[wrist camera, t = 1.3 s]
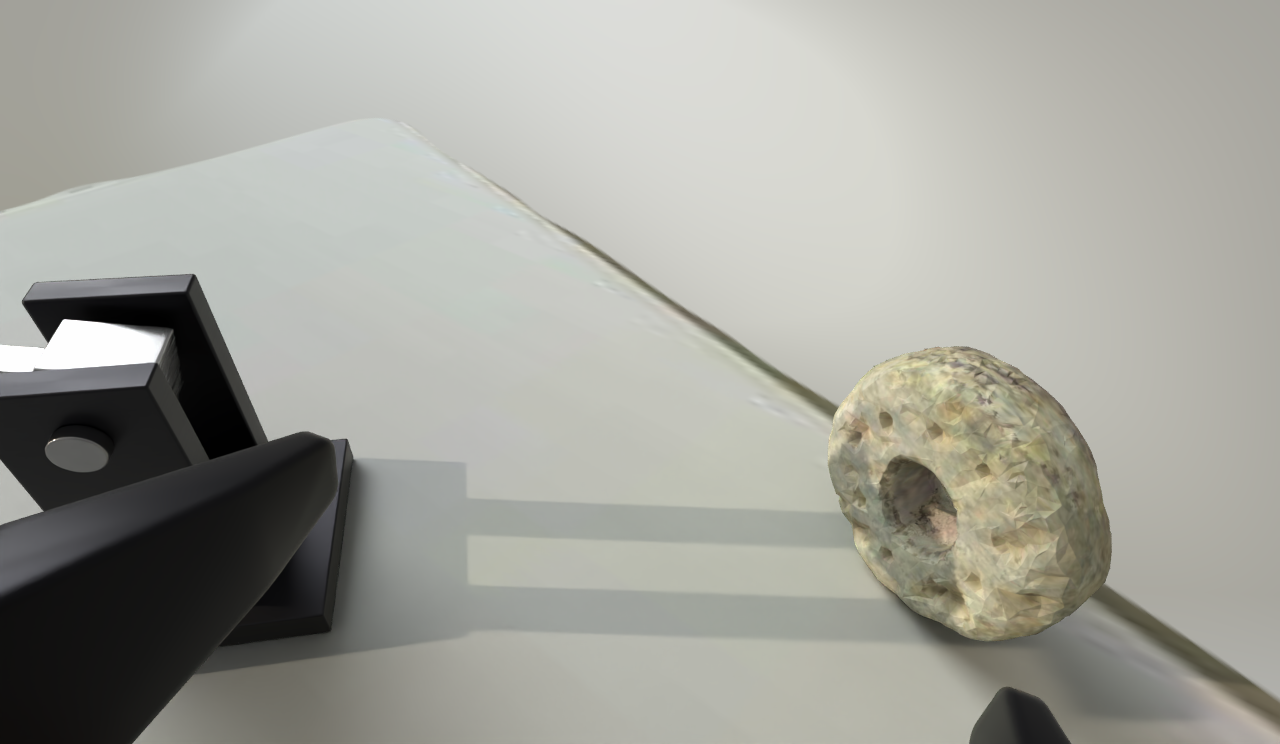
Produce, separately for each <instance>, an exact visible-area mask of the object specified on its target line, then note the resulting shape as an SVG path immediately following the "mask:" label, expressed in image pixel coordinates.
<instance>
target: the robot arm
mask: <svg viewBox="0 0 1280 744" xmlns="http://www.w3.org/2000/svg"><path fill="white" fill-rule="evenodd" d="M337 488H338V476H337V465H336V454H335V446H334V444H333V443H332V441H331V440H329V439H327V438H325V437H322V436H319V435H316V434H314V433H311V432H299V433H295V434H292V435H289V436H286V437H283V438H279V439H276V440H273V441H270V442H266V443H263V444H260V445H257V446H254V447H250V448H247V449H244V450H241V451H237V452H234V453H231V454H228V455H225V456H221V457H218V458H215V459H212V460H208V461H205V462H202V463H199V464H196V465H192V466H189V467H186V468H183V469H179V470H176V471H173V472H170V473H167V474H163V475H160V476H157V477H154V478H150V479H147V480H144V481H141V482H138V483H134V484H131V485H128V486H125V487H121V488H118V489H115V490H112V491H109V492H105V493H102V494H99V495H96V496H92V497H89V498H86V499H83V500H79V501H76V502H73V503H70V504H67V505H63V506H60V507H57V508H54V509H50V510H47V511H44V512H41V513H37V514H34V515H31V516H28V517H25V518H21V519H18V520H15V521H12V522H8V523H5V524H3V525H0V744H132V743H133V742H134V741H135V740H136V739H137V738H138V736H139V735H140V734H141V733H142V732H143V731H144V730H145V729H146V727H147V726H148V725H149V724H150V723H151V722H152V721H153V719H154V718H155V717H156V716H157V715H158V714H159V713H160V712H161V710H162V709H163V708H164V707H165V706H166V705H167V704H168V703H169V701H170V700H171V699H172V698H173V697H174V696H175V695H176V693H177V692H178V691H179V690H180V689H181V688H182V687H183V686H184V684H185V683H186V682H187V681H188V680H189V679H190V678H191V677H192V675H193V674H194V673H195V672H196V671H197V670H198V669H199V667H200V666H201V665H202V664H203V663H204V662H205V661H206V660H207V658H208V657H209V656H210V655H211V654H212V653H213V652H214V650H215V649H216V648H217V647H218V646H219V645H220V644H221V643H222V641H223V640H224V639H225V638H226V637H227V636H228V635H229V634H230V632H231V631H232V630H233V629H234V628H235V627H236V626H237V624H238V623H239V622H240V621H241V620H242V619H243V618H244V617H245V615H246V614H247V613H248V612H249V611H250V610H251V609H252V607H253V606H254V605H255V604H256V603H257V602H258V601H259V599H260V598H261V597H262V596H263V595H264V593H265V592H266V591H267V590H268V589H269V587H270V586H271V585H272V584H273V582H274V581H275V580H276V578H277V577H278V576H279V574H280V573H281V572H282V570H283V569H284V567H285V566H286V565H287V563H288V562H289V561H290V559H291V558H292V556H293V555H294V554H295V552H296V551H297V549H298V548H299V547H300V545H301V544H302V542H303V541H304V540H305V538H306V537H307V536H308V534H309V533H310V531H311V530H312V529H313V527H314V526H315V524H316V523H317V522H318V520H319V519H320V517H321V516H322V515H323V513H324V512H325V511H326V509H327V508H328V506H329V505H330V504H331V502H332V501H333V499H334V497H335V495H336V492H337ZM969 744H1071V743H1070V741H1069V740H1068V738H1067V736H1066V735H1065V733H1064V732H1063V730H1062V728H1061V727H1060V725H1059V724H1058V722H1057V721H1056V719H1055V717H1054V716H1053V714H1052V713H1051V711H1050V710H1049V708H1048V706H1047V705H1046V704H1045V703H1044V702H1043V701H1042V700H1041V699H1040V698H1038V697H1036V696H1034V695H1031V694H1028V693H1025V692H1023V691H1020V690H1017V689H1014V688H1012V687H1003V688H1001V689H1000V690H999V691H998V692H997V693H996V695H995V696H994V698H993V699H992V701H991V702H990V704H989V705H988V706H987V708H986V709H985V711H984V712H983V714H982V715H981V716H980V718H979V719H978V721H977V722H976V724H975V726H974V728H973V730H972V733H971V737H970V742H969Z"/></svg>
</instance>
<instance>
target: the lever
mask: <svg viewBox="0 0 1280 744" xmlns="http://www.w3.org/2000/svg"><path fill="white" fill-rule="evenodd" d="M152 362H156V363H158V364H159V366H160V368H161V370H162V372H163V373H164V375H165V377H166V379H167V381H168V383H169V385H170V387H171V388H172V390H173V392H174V394H175V396H176V398H177V400H178V397H179V395H180V392H181V389H182V387H183V379H182V373H181V368H180V362H179V357H178V352H177V346H176V341H175V335H174V330H173V328H171V327H159V326H146V325H134V324H121V323H109V322H96V321H84V320H71V319H63V320H62V321H61V323H60V324H59V326H58V328H57V329H56V331H55V333H54V334H53V336H52V338H51V339H50V341H49V343H48V344H47V346H46V348H37V347H23V346H8V345H0V373H11V372H25V371H39V370H53V369H67V368H81V367H96V366H110V365H124V364H138V363H152Z"/></svg>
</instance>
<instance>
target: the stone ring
mask: <svg viewBox="0 0 1280 744" xmlns="http://www.w3.org/2000/svg"><path fill="white" fill-rule="evenodd" d="M828 468H829V472H830V476H831V480H832V483H833V486H834V489H835V492H836V494H838V495H839V496H840V497H839V503H840V507H841V510H842V513H843V514H844V515H845V517H846V518H847V519H848V520H849V522H850V523H851V524H852V529H853V535H854V542H855V545H856V548H857V550H858V552H859V554H860V555H861V557H862V558H863V560H864V561H865V562H866V564H867V565H868V567H869V568H870V569H871V571H872V572H873V574H874V575H875V576H876V578H877V579H878V580H879V581H880V582H881V583H882V584H884V585H885V586H886V587H887V588H889V589H890V590H891V591H893V592H894V593H895V594H897V595H898V596H899V598H900V599H901V600H902V601H903V602H904V603H905V604H906V605H907V606H908V607H909V608H910V609H911V610H913V611H914V612H916V613H918V614H920V615H922V616H924V617H927V618H929V619H933V620H934V621H938V622H940V623H942V624H943V625H944V626H946V627H949V628H951V629H953V630H955V631H956V632H958V633H959V634H960V635H962V636H965V637H967V638H969V639H975V640H981V641H1003V640H1008V639H1014V638H1017V637H1020V636H1030V635H1034V634H1038V633H1040V632H1042V631H1044V630H1045V629H1047V628H1049V627H1051V626H1052V625H1054V624H1056V623H1058V622H1060V621H1061V620H1062V619H1064V618H1065V617H1067V616H1070V615H1071V614H1072V613H1073V612H1074V611H1075V610H1077V609H1078V608H1079V607H1080V606H1081V605H1082V604H1083V603H1084V602H1085V601H1086V600H1087V599H1088V598H1089V597H1091V596H1092V595H1093V594H1094V593H1095V592H1096V591H1097V590H1098V589H1099V588H1100V587H1101V586H1102V585H1103V584H1104V583H1105V581H1106V578H1107V575H1108V572H1109V569H1110V562H1111V553H1112V549H1111V547H1112V546H1111V532H1110V527H1109V519H1108V516H1107V513H1106V510H1105V507H1104V504H1103V499H1102V492H1101V487H1100V483H1099V479H1098V474H1097V466H1096V463H1095V460H1094V458H1093V455H1092V452H1091V450H1090V448H1089V446H1088V444H1087V443H1086V441H1085V439H1084V438H1083V436H1082V435H1081V433H1080V431H1079V430H1078V428H1077V427H1076V426H1075V424H1074V423H1073V422H1072V420H1071V419H1070V417H1069V416H1068V414H1067V413H1066V411H1065V409H1064V408H1063V406H1062V405H1061V404H1060V403H1058V401H1057V400H1055V398H1054V397H1052V396H1051V395H1050V394H1049V393H1048V392H1047V391H1046V390H1044V389H1043V388H1042V387H1041V386H1039V385H1038V384H1037V383H1036V382H1035V381H1033V380H1032V379H1030V378H1029V377H1027V376H1026V375H1024V374H1023V373H1022V372H1021V371H1020V370H1019V369H1018V368H1016V367H1014V366H1012V365H1010V364H1007V363H1005V362H1003V361H1001V360H998V359H997V358H995V357H993V356H992V355H990V354H988V353H985V352H982V351H980V350H977V349H973V348H970V347H959V346H958V347H957V346H954V347H944V348H940V347H935V348H930V349H925V350H924V351H918V352H912V353H906V354H903V355H900V356H898V357H895V358H892V359H889V360H886V361H885V362H883V363H881V364H879V365H876V366H874V368H872V369H871V370H870V371H869V372H868V373H867V374H866V375H864V376H863V377H862V378H861V380H860V381H859V382H858V383H857V385H856V386H855V388H854V390H853V391H852V392H851V393H850V394H849V395H848V396H847V398H846V399H845V400H844V401H843V402H842V404H841V405H840V407H839V408H838V410H837V412H836V413H835V416H834V420H833V428H832V432H831V435H830V438H829V446H828ZM941 483H942V484H943V485H944V487H945V488H946V490H947V491H948V493H949V495H950V497H951V498H952V502H951V500H950V499H949V497H948V496H946V494H945V491H944V489H943V486H942V484H941ZM953 505H954V506H953ZM954 507H955V508H957V510H956V509H955V508H954Z"/></svg>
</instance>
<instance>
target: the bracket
mask: <svg viewBox="0 0 1280 744" xmlns="http://www.w3.org/2000/svg"><path fill="white" fill-rule="evenodd" d="M22 304H23V306H24V307H25V309H26V310H27V312H28V313H29V315H30V316H31V318H32V319H33V321H34V323H35V324H36V326H37V327H38V329H39V330H40V332H41V333H42V335H43V336H44V338H45V339H46V341H47V342H48V343H49V341H50V339H51V338H52V336H53V334H54V333H55V331H56V329H57V328H58V326H59V324H60V323H61V321H62V320H63V319H71V320H84V321H96V322H109V323H121V324H134V325H146V326H159V327H171V328H173V330H174V335H175V341H176V346H177V352H178V357H179V362H180V368H181V373H182V379H183V387H182V389H181V392H180V395H179V397H178V400H177V398H176V396H175V394H174V392H173V390H172V388H171V387H170V385H169V383H168V381H167V379H166V377H165V375H164V373H163V372H162V370H161V368H160V366H159V364H158V363H156V362H152V363H138V364H124V365H110V366H96V367H81V368H67V369H53V370H39V371H25V372H11V373H0V460H1V461H2V462H3V463H4V465H5V466H6V467H7V468H8V469H9V470H10V472H11V473H12V474H13V475H14V476H15V478H16V479H17V480H18V481H19V482H20V484H21V485H22V486H23V487H24V488H25V490H26V491H27V492H28V493H29V494H30V496H31V497H32V498H33V499H34V500H35V502H36V503H37V504H38V505H39V506H40V507H41V509H42V510H43V511H47V510H50V509H54V508H57V507H60V506H63V505H67V504H70V503H73V502H76V501H79V500H83V499H86V498H89V497H92V496H96V495H99V494H102V493H105V492H109V491H112V490H115V489H118V488H121V487H125V486H128V485H131V484H134V483H138V482H141V481H144V480H147V479H150V478H154V477H157V476H160V475H163V474H167V473H170V472H173V471H176V470H179V469H183V468H186V467H189V466H192V465H196V464H199V463H202V462H205V461H208V460H212V459H215V458H218V457H221V456H225V455H228V454H231V453H234V452H237V451H241V450H244V449H247V448H250V447H254V446H257V445H260V444H263V443H266V442H268V440H267V438H266V435H265V433H264V431H263V429H262V426H261V424H260V422H259V419H258V417H257V415H256V412H255V410H254V408H253V406H252V403H251V401H250V399H249V396H248V394H247V392H246V390H245V387H244V385H243V383H242V380H241V378H240V376H239V373H238V371H237V369H236V367H235V364H234V362H233V360H232V357H231V355H230V353H229V350H228V348H227V346H226V344H225V341H224V339H223V337H222V334H221V332H220V330H219V328H218V325H217V323H216V321H215V318H214V316H213V314H212V311H211V309H210V307H209V305H208V302H207V300H206V298H205V295H204V293H203V291H202V288H201V286H200V284H199V282H198V279H197V277H196V275H194V274H185V275H166V276H147V277H127V278H108V279H89V280H70V281H50V282H36V283H34V284H33V285H32V287H31V288H30V290H29V291H28V293H27V294H26V296H25V297H24V298H23V300H22ZM331 441H332V443H333V444H334V446H335V454H336V465H337V476H338V488H337V492H336V495H335V497H334V499H333V501H332V502H331V504H330V505H329V506H328V508H327V509H326V511H325V512H324V513H323V515H322V516H321V517H320V519H319V520H318V522H317V523H316V524H315V526H314V527H313V529H312V530H311V531H310V533H309V534H308V536H307V537H306V538H305V540H304V541H303V542H302V544H301V545H300V547H299V548H298V549H297V551H296V552H295V554H294V555H293V556H292V558H291V559H290V561H289V562H288V563H287V565H286V566H285V567H284V569H283V570H282V572H281V573H280V574H279V576H278V577H277V578H276V580H275V581H274V582H273V584H272V585H271V586H270V587H269V589H268V590H267V591H266V592H265V593H264V595H263V596H262V597H261V598H260V599H259V601H258V602H257V603H256V604H255V605H254V606H253V607H252V609H251V610H250V611H249V612H248V613H247V614H246V615H245V617H244V618H243V619H242V620H241V621H240V622H239V623H238V624H237V626H236V627H235V628H234V629H233V630H232V631H231V632H230V634H229V635H228V636H227V637H226V638H225V639H224V640H223V641H222V643H221V644H220V645H219V646H227V645H234V644H242V643H249V642H257V641H264V640H271V639H279V638H286V637H294V636H301V635H309V634H316V633H323V632H330V631H331V626H332V618H333V611H334V603H335V595H336V587H337V579H338V571H339V564H340V556H341V548H342V540H343V532H344V525H345V517H346V509H347V501H348V493H349V486H350V478H351V470H352V462H353V455H352V452H351V449H350V445H349V442H348V440H347V439H339V440H331ZM219 646H218V647H219Z"/></svg>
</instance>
